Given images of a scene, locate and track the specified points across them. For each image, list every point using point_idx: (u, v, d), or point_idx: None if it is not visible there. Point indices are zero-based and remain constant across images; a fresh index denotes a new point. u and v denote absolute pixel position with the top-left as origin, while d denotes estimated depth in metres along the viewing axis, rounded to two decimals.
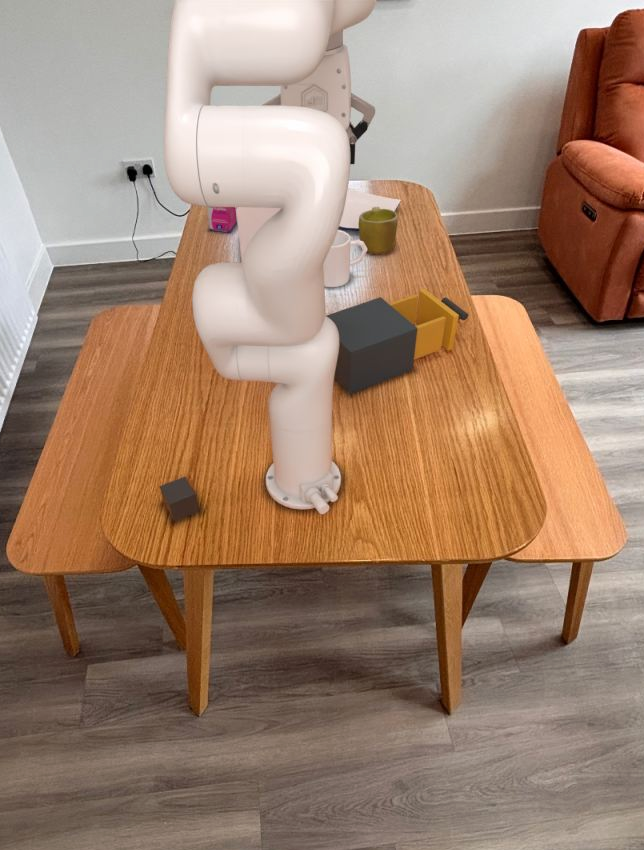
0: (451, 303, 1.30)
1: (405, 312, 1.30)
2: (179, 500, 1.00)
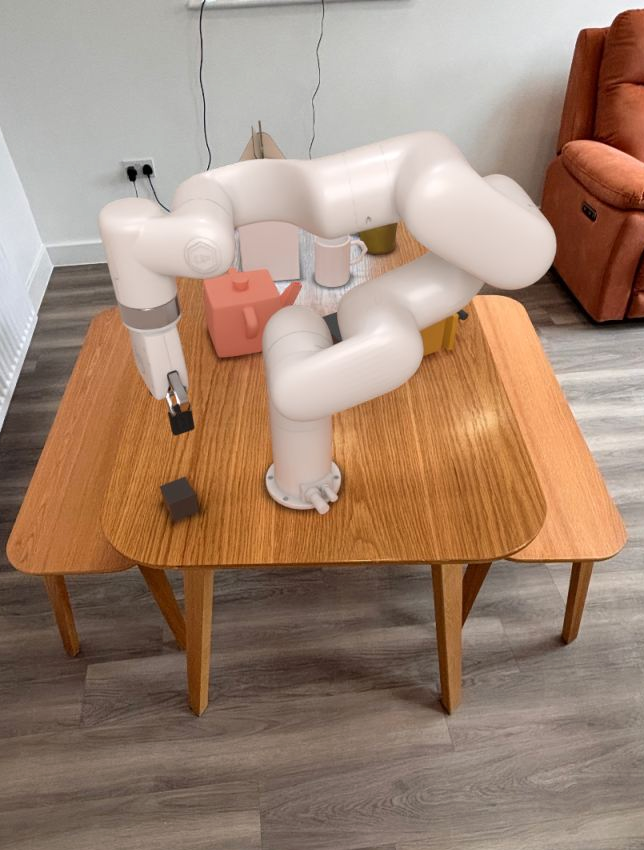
0: None
1: None
2: (179, 500, 1.00)
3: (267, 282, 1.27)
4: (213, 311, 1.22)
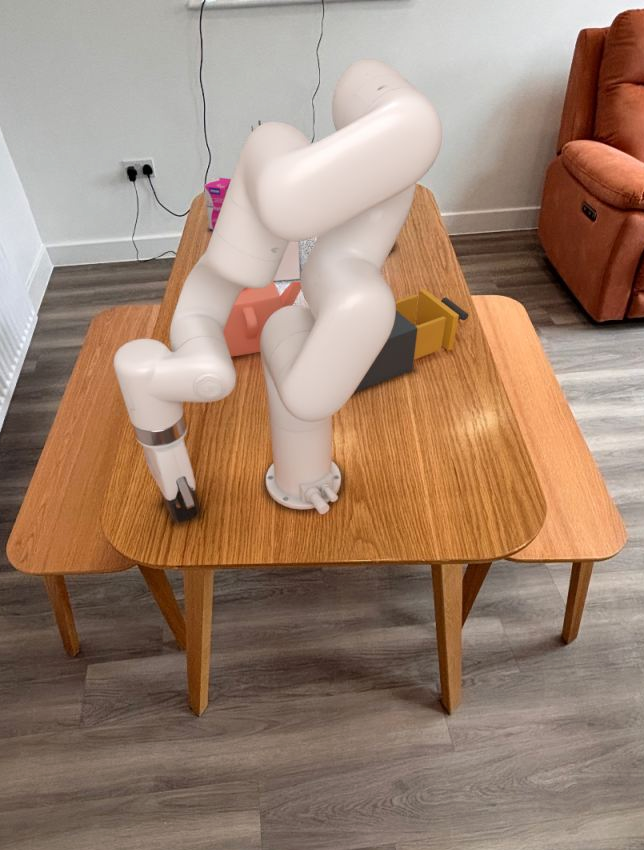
0: (451, 303, 1.30)
1: (405, 312, 1.30)
2: None
3: None
4: None
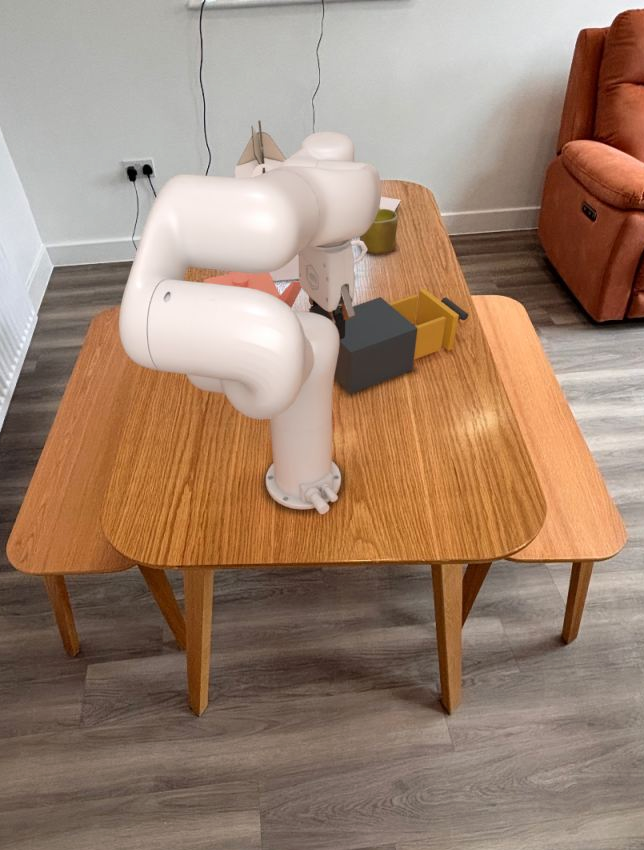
0: (451, 303, 1.30)
1: (405, 312, 1.30)
2: None
3: (267, 282, 1.27)
4: None
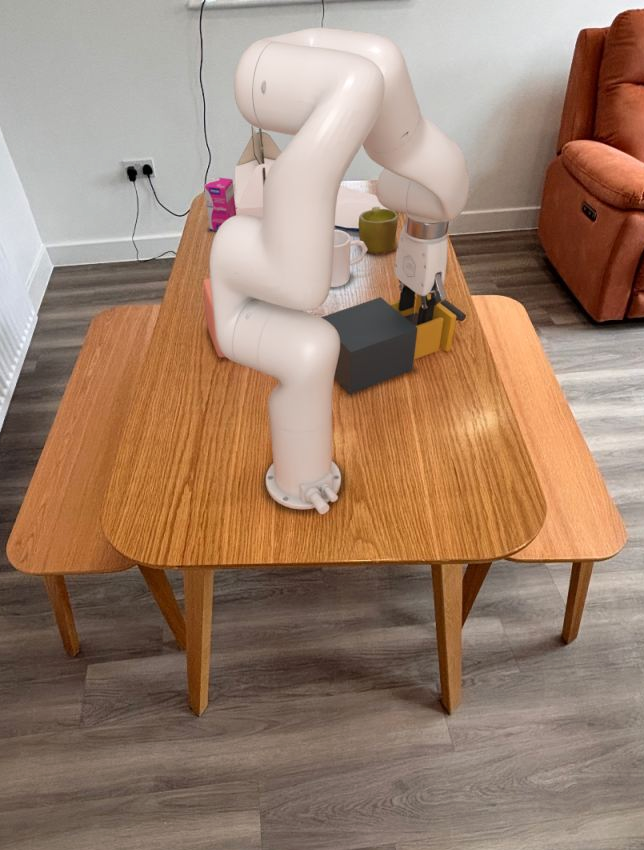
0: (449, 304, 1.30)
1: (403, 313, 1.30)
2: None
3: None
4: None
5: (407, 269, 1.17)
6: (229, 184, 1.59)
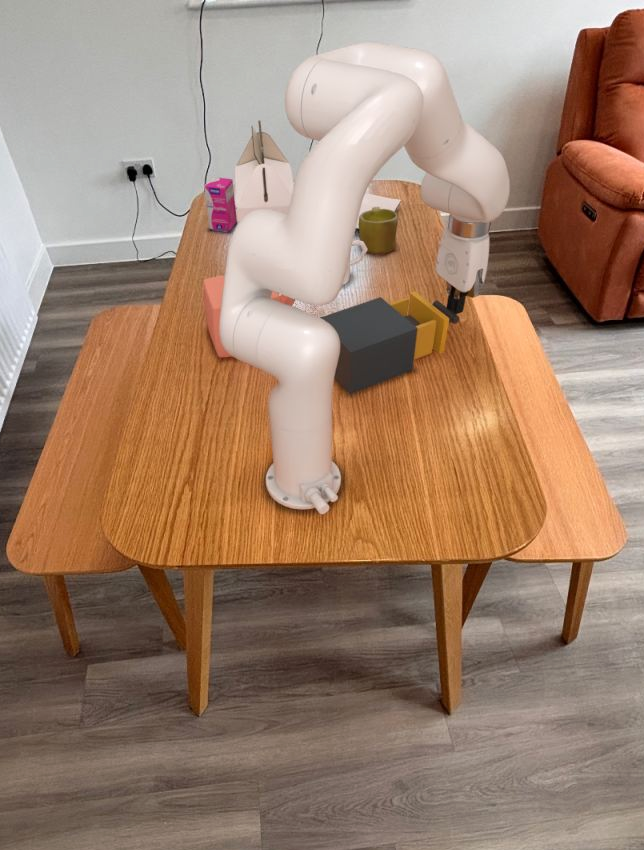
0: (442, 306, 1.29)
1: None
2: None
3: None
4: (213, 311, 1.22)
5: (449, 266, 1.22)
6: (229, 184, 1.59)
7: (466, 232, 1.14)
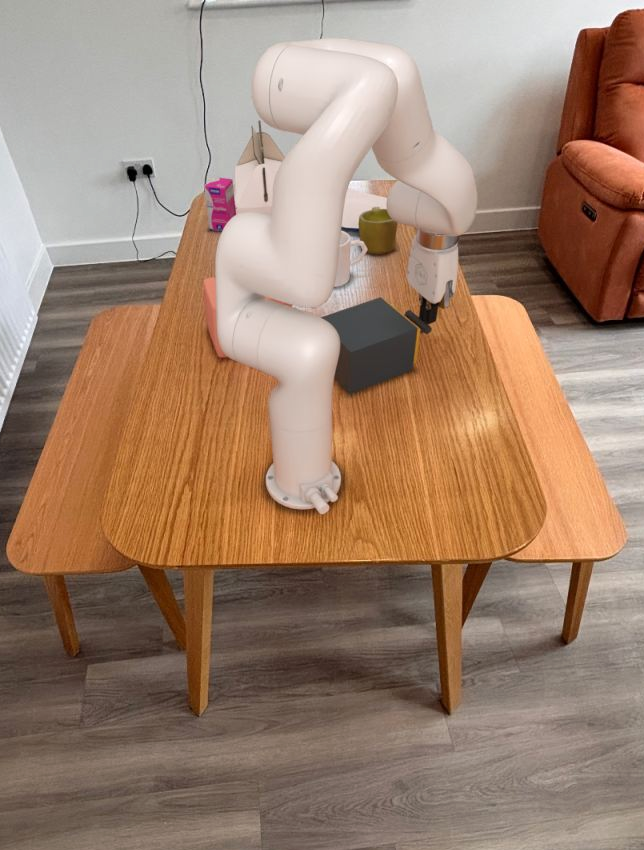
0: (415, 316, 1.27)
1: None
2: None
3: None
4: (213, 311, 1.22)
5: (419, 277, 1.20)
6: (229, 184, 1.59)
7: (433, 244, 1.12)
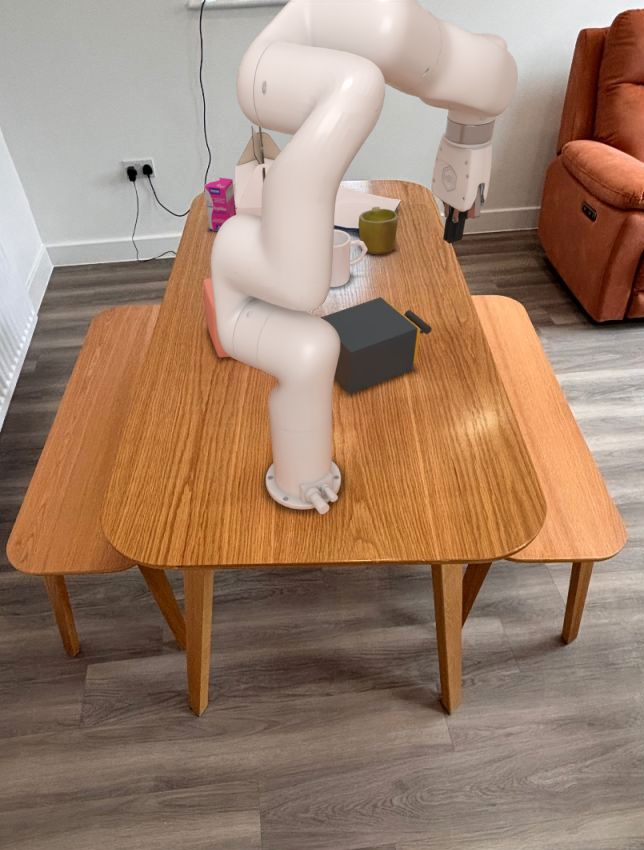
0: (415, 316, 1.27)
1: None
2: None
3: None
4: (213, 311, 1.22)
5: (446, 182, 1.09)
6: (229, 184, 1.59)
7: (466, 137, 1.01)
